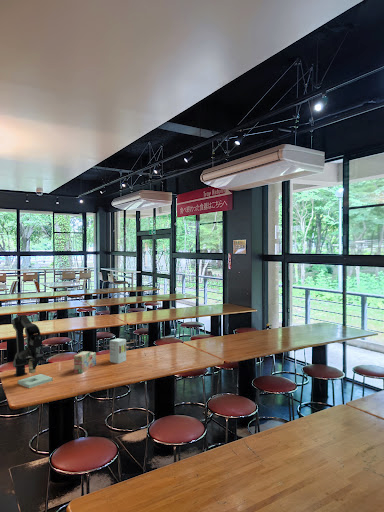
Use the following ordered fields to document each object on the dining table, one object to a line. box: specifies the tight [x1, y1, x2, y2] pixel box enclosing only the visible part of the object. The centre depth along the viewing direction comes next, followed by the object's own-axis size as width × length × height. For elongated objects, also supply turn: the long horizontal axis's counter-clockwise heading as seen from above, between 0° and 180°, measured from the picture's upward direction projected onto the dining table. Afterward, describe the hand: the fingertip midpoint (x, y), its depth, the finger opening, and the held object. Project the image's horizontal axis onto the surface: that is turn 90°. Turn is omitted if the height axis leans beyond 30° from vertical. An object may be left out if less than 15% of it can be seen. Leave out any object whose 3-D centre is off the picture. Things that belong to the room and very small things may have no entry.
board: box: [17, 373, 53, 389], centre depth 227 cm, size 14×16×2 cm
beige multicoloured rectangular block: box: [73, 350, 97, 374], centre depth 254 cm, size 21×6×12 cm, turn 169°
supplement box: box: [109, 337, 127, 364], centre depth 271 cm, size 10×9×17 cm
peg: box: [28, 359, 37, 374], centre depth 225 cm, size 4×4×8 cm
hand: (32, 369), depth 225 cm, fingers closed on peg, 4 cm apart
